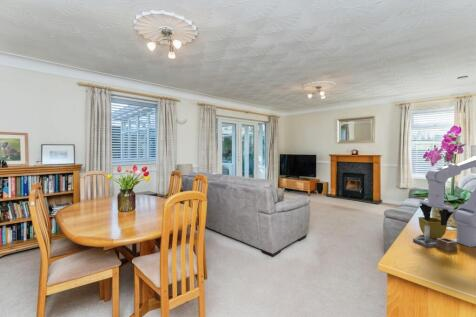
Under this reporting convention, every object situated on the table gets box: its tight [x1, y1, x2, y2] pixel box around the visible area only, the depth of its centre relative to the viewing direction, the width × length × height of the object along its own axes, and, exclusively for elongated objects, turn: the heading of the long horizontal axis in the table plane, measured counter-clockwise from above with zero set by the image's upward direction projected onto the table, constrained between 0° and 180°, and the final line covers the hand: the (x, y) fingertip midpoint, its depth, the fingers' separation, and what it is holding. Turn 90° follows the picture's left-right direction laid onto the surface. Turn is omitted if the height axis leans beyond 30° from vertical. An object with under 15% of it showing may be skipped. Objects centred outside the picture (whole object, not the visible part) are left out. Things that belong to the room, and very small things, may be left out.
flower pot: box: [418, 216, 448, 239], centre depth 119 cm, size 9×9×9 cm
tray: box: [412, 236, 436, 248], centre depth 110 cm, size 8×7×2 cm
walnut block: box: [435, 237, 458, 252], centre depth 104 cm, size 5×5×4 cm
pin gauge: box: [423, 225, 431, 243], centre depth 110 cm, size 2×2×8 cm
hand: (435, 222), depth 110 cm, fingers open, 7 cm apart
